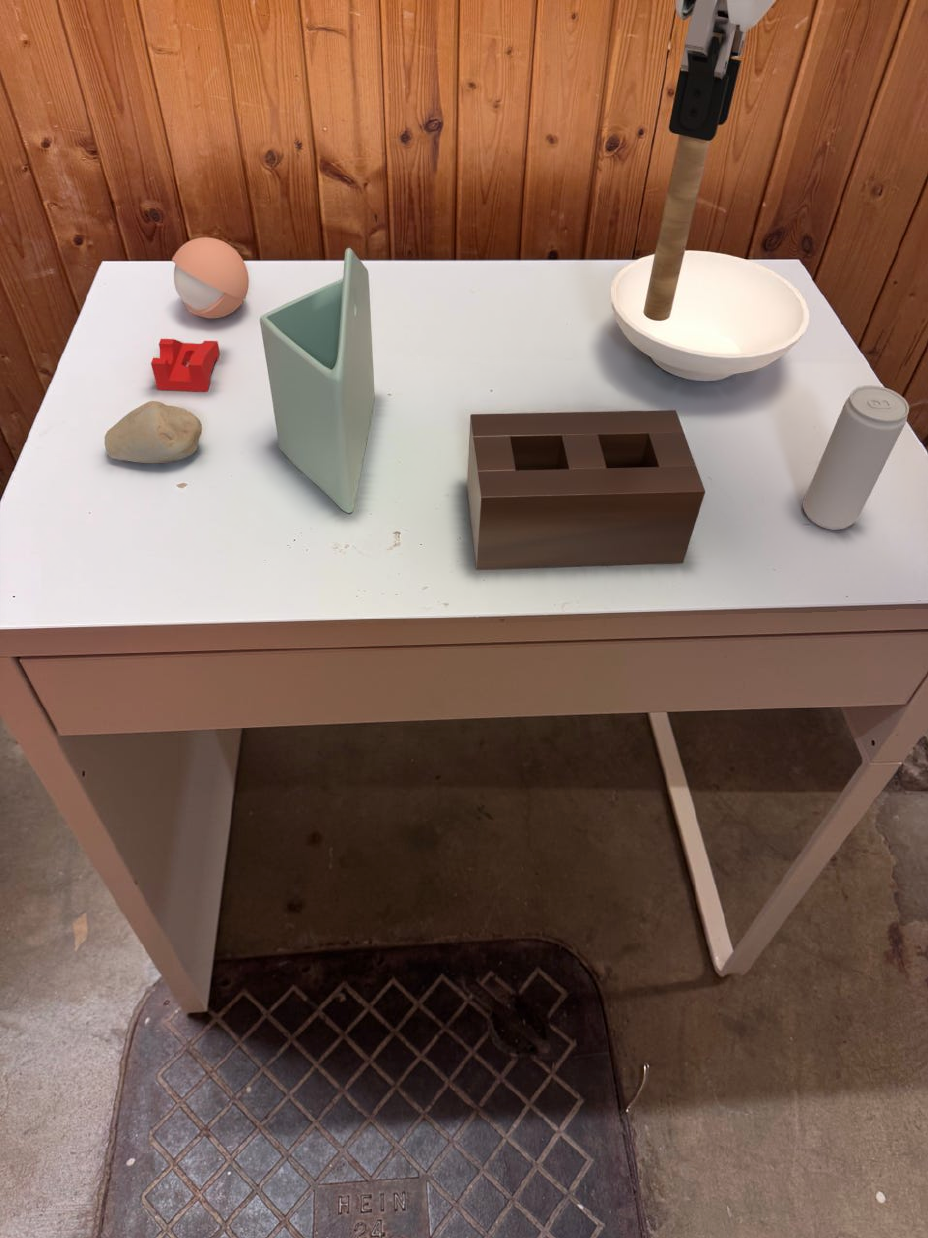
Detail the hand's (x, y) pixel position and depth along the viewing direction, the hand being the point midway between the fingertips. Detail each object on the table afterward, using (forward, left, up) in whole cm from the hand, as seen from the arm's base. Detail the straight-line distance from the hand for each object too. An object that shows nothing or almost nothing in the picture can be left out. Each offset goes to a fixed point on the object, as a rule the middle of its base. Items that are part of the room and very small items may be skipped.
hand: (697, 125), depth 64 cm
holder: (+1, +11, -29) cm, 31 cm away
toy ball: (+47, -1, -29) cm, 55 cm away
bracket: (+43, +9, -29) cm, 53 cm away
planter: (+25, +13, -29) cm, 41 cm away
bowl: (-1, -18, -29) cm, 34 cm away
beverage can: (-19, -1, -29) cm, 35 cm away
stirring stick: (0, 0, -15) cm, 15 cm away
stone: (+38, +20, -29) cm, 52 cm away
